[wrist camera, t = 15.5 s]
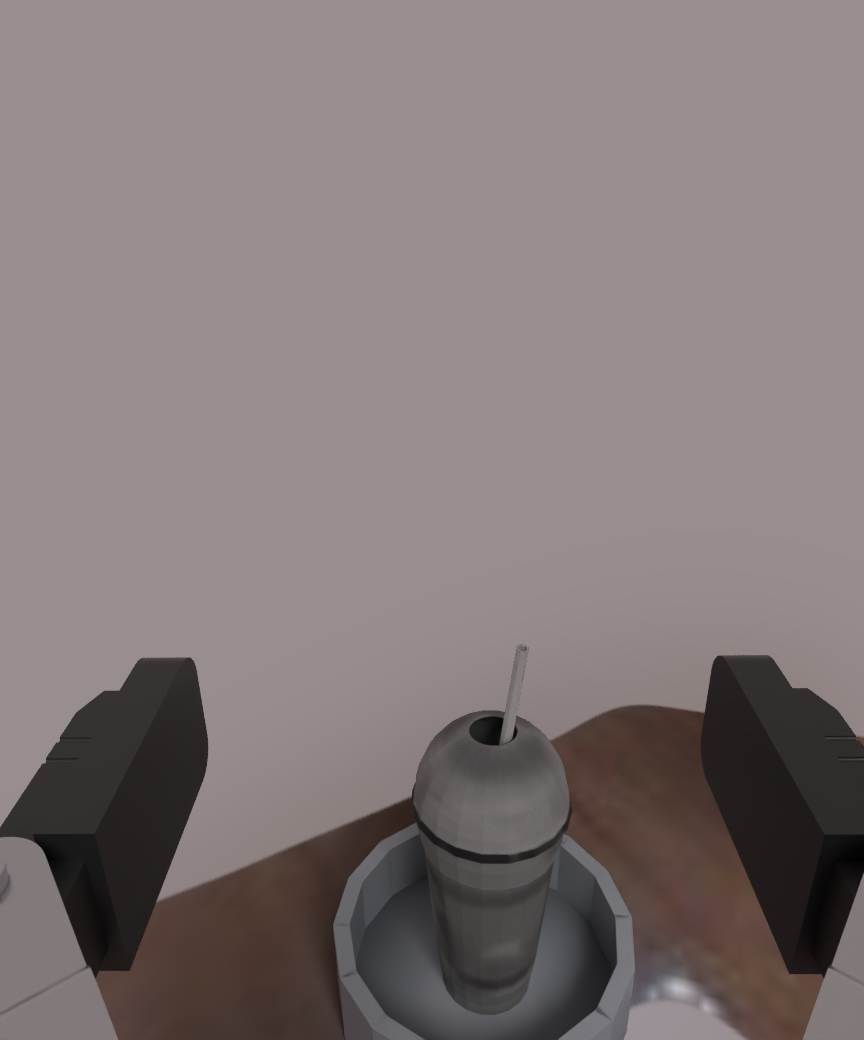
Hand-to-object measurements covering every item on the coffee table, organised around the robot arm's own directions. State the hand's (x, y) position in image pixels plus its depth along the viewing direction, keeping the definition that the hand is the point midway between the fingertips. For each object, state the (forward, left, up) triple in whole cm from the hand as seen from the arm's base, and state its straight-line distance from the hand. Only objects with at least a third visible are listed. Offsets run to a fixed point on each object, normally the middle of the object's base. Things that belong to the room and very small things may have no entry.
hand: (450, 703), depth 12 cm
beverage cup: (+8, -16, -30) cm, 35 cm away
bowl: (+8, -16, -31) cm, 36 cm away
